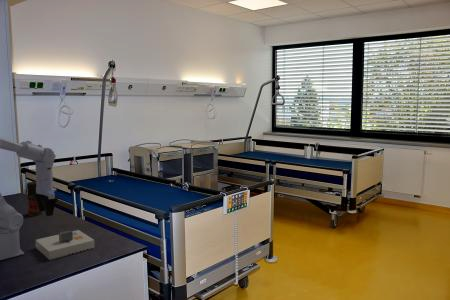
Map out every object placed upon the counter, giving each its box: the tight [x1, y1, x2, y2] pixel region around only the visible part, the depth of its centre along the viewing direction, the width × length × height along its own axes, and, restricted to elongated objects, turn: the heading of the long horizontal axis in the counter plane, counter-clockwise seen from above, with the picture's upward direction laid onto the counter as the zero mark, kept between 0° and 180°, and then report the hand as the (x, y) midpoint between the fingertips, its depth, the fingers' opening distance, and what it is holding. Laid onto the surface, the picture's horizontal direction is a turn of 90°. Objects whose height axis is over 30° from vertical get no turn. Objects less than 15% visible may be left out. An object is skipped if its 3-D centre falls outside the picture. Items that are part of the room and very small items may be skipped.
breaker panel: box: [35, 229, 95, 261], centre depth 138 cm, size 16×14×3 cm
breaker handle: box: [58, 229, 73, 242], centre depth 137 cm, size 4×2×3 cm, turn 134°
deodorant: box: [26, 181, 43, 217], centre depth 176 cm, size 6×6×15 cm
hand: (46, 213), depth 145 cm, fingers open, 7 cm apart
